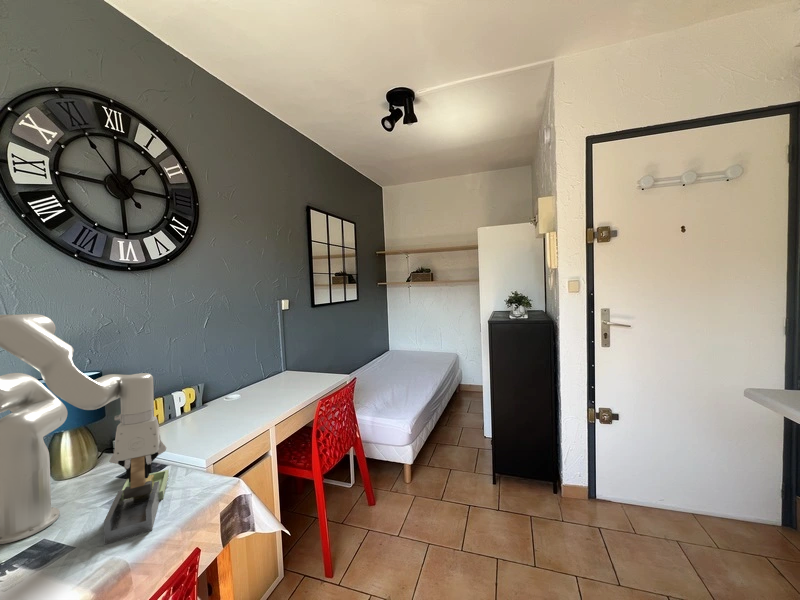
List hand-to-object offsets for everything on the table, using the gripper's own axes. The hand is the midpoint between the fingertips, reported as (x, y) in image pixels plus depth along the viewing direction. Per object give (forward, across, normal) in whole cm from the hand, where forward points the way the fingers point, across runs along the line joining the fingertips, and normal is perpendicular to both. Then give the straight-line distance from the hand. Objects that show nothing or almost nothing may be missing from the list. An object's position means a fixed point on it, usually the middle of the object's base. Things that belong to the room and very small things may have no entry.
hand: (139, 477), depth 94 cm
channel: (+8, 0, -8) cm, 11 cm away
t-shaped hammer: (+4, 0, -2) cm, 5 cm away
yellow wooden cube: (+6, 0, +2) cm, 6 cm away
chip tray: (+8, 0, +6) cm, 10 cm away
